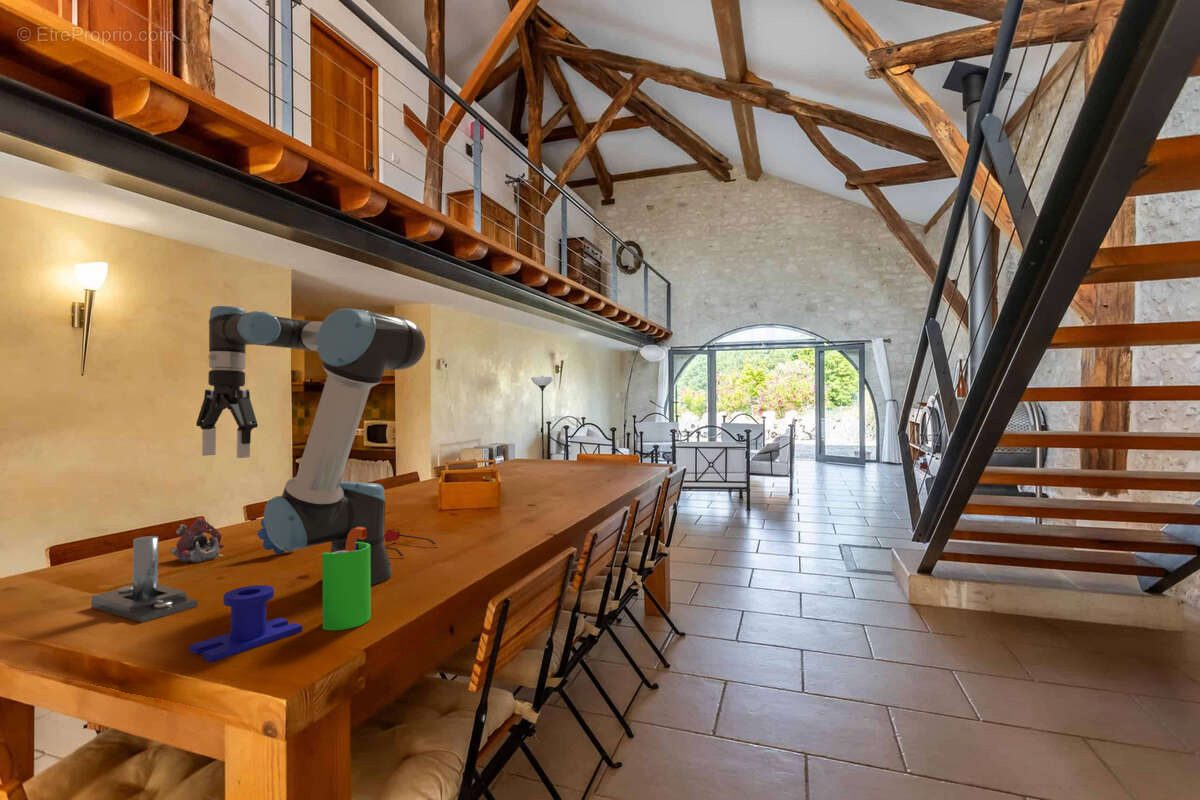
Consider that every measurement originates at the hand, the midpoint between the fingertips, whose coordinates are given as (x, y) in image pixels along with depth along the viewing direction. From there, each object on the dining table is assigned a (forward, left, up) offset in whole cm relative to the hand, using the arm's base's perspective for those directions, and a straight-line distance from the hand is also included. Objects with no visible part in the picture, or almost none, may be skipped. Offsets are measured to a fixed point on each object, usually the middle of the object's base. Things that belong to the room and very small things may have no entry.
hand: (225, 456), depth 138 cm
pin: (-9, +21, -29) cm, 37 cm away
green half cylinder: (-52, +8, -29) cm, 60 cm away
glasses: (-21, -37, -29) cm, 52 cm away
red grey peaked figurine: (+20, -5, -29) cm, 36 cm away
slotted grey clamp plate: (-9, +21, -29) cm, 37 cm away
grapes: (+4, -18, -29) cm, 34 cm away
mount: (-44, +22, -29) cm, 57 cm away
